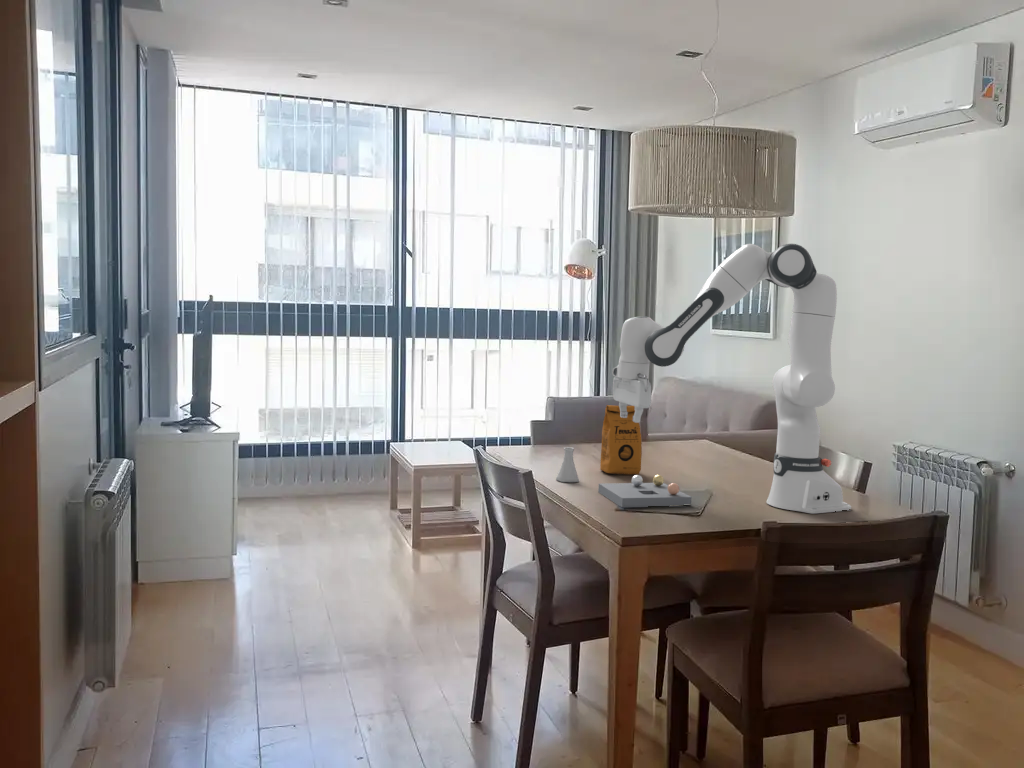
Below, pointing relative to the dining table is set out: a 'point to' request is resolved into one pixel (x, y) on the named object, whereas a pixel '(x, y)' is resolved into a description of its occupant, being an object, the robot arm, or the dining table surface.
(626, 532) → the dining table surface
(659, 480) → the brass ball
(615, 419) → the coffee package
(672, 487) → the terracotta ball
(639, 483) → the steel ball
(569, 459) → the flask
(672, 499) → the seat plate
